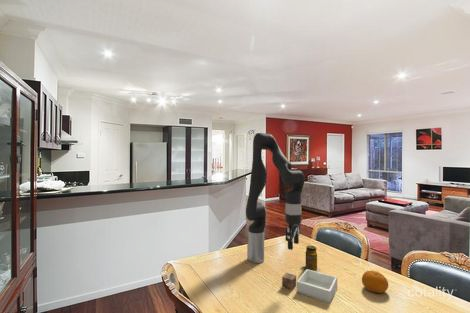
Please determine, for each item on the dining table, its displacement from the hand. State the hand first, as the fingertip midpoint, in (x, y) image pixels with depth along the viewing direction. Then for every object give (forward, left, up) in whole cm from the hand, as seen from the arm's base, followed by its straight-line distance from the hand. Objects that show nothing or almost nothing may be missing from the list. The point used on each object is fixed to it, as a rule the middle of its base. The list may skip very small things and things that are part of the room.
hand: (293, 246), depth 115 cm
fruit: (+33, +17, -19) cm, 41 cm away
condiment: (+2, +21, -19) cm, 29 cm away
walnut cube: (-1, -2, -19) cm, 19 cm away
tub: (+11, +2, -19) cm, 22 cm away
